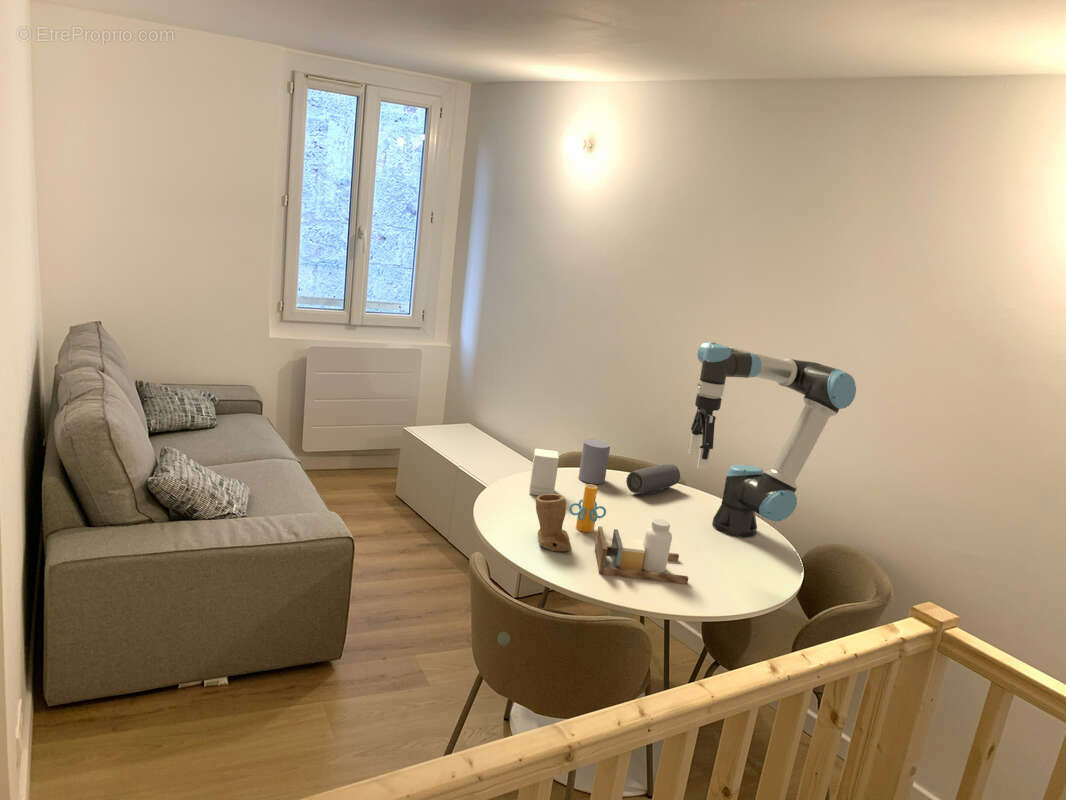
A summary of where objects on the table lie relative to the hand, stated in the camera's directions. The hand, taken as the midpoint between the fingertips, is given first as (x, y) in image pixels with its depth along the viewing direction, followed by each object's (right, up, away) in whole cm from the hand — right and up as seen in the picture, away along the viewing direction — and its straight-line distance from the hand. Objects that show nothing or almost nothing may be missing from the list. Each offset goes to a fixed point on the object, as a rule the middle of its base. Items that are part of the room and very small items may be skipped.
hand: (697, 461), depth 247 cm
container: (-28, -12, +65) cm, 72 cm away
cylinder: (-34, -24, +16) cm, 44 cm away
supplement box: (-48, -15, +45) cm, 67 cm away
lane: (-19, -31, -7) cm, 37 cm away
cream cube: (-22, -31, -7) cm, 39 cm away
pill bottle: (-15, -32, -6) cm, 36 cm away
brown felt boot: (-46, -26, +2) cm, 52 cm away
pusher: (-26, -30, -7) cm, 40 cm away
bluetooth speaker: (-5, -16, +61) cm, 63 cm away
